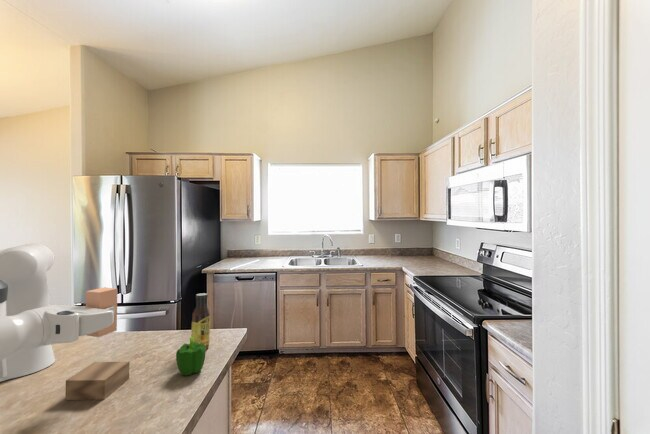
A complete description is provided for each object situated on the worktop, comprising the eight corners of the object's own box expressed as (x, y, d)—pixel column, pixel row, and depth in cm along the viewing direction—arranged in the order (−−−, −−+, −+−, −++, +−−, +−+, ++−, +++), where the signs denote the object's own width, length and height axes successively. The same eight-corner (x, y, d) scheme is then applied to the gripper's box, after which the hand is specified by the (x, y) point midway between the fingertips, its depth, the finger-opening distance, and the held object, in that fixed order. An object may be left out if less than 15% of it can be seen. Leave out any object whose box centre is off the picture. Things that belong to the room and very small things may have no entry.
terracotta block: (98, 337, 78) (99, 292, 78) (85, 335, 79) (85, 291, 79) (116, 330, 82) (117, 288, 83) (103, 328, 84) (104, 287, 84)
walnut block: (65, 399, 75) (65, 380, 75) (94, 379, 85) (95, 361, 85) (104, 399, 76) (104, 380, 76) (129, 378, 86) (129, 361, 86)
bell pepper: (200, 378, 86) (200, 344, 86) (171, 379, 85) (172, 345, 86) (209, 364, 94) (209, 333, 95) (183, 365, 94) (183, 334, 94)
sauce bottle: (202, 353, 102) (203, 297, 103) (187, 351, 103) (187, 296, 104) (213, 345, 109) (213, 292, 109) (198, 344, 110) (198, 291, 110)
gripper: (16, 333, 71) (78, 316, 85) (76, 343, 66) (132, 323, 79) (17, 307, 71) (78, 294, 85) (76, 315, 66) (132, 300, 79)
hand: (104, 308), depth 82 cm, fingers closed on terracotta block, 5 cm apart
